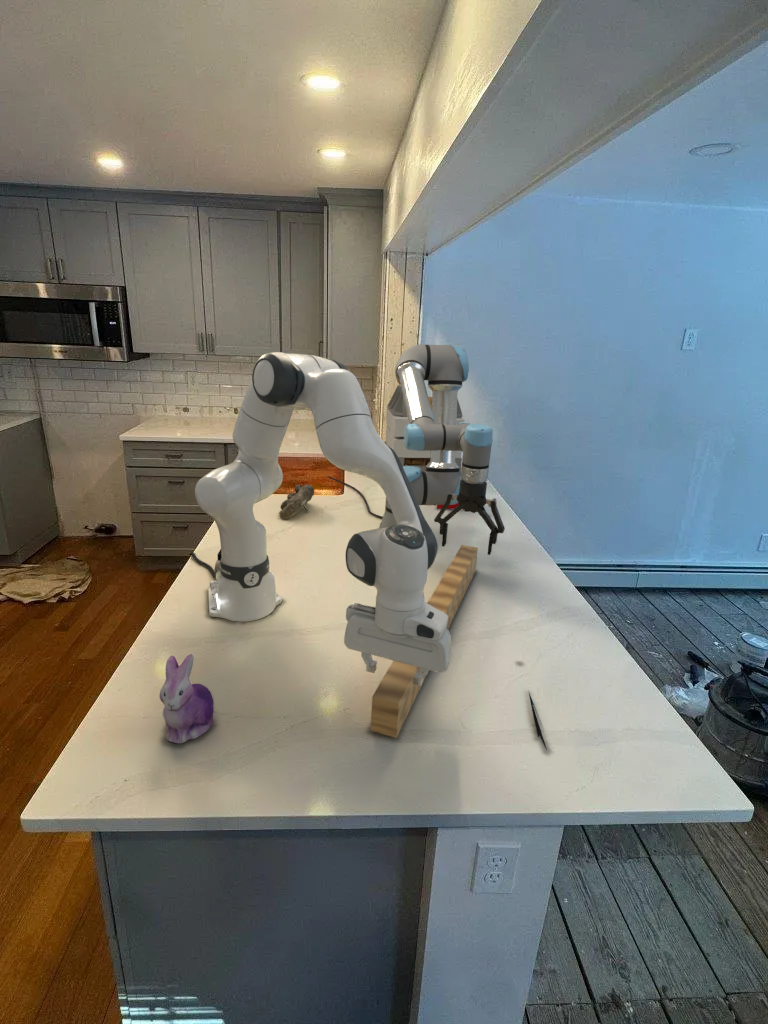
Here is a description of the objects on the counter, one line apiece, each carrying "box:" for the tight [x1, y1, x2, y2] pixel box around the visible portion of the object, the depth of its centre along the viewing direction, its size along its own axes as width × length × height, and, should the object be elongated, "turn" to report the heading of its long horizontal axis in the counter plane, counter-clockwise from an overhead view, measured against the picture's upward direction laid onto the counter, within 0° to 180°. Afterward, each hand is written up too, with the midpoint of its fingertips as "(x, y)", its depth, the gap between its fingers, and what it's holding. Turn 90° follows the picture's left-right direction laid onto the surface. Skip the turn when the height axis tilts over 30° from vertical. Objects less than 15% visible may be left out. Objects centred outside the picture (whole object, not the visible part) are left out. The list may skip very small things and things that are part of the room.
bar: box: [370, 544, 479, 739], centre depth 139 cm, size 78×5×8 cm, turn 161°
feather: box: [528, 689, 548, 751], centre depth 116 cm, size 2×28×2 cm
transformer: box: [383, 384, 466, 471], centre depth 268 cm, size 34×33×41 cm
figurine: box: [159, 653, 215, 744], centre depth 102 cm, size 9×10×15 cm
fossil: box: [278, 483, 315, 519], centre depth 216 cm, size 22×10×15 cm
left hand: (394, 676), depth 108 cm, fingers open, 8 cm apart
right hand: (466, 549), depth 167 cm, fingers open, 13 cm apart
